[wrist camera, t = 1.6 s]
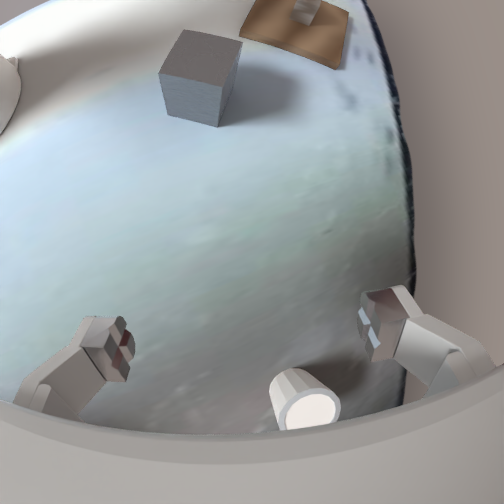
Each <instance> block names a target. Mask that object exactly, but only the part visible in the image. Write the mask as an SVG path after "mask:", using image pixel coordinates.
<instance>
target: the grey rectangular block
mask: <svg viewBox="0 0 504 504" xmlns="http://www.w3.org/2000/svg"><path fill="white" fill-rule="evenodd" d="M242 44H243V42H240V41H236V40H233V39H228V38H224V37H220V36H216V35H211V34H206V33H201V32H196V31H190V30H183V32H182V33H181V35H180V36H179V38H178V40H177V41H176V43H175V45H174V46H173V48H172V50H171V51H170V53H169V55H168V57H167V58H166V60H165V62H164V64H163V65H162V67H161V69H160V71H159V73H158V74H159V78H160V83H161V87H162V92H163V96H164V100H165V105H166V109H167V113H168V115H170V116H175V117H179V118H183V119H187V120H191V121H195V122H199V123H202V124H206V125H210V126H214V127H217V126H218V124H219V121H220V118H221V116H222V113H223V111H224V108H225V105H226V103H227V100H228V98H229V95H230V93H231V90H232V88H233V84H234V79H235V75H236V70H237V66H238V61H239V57H240V52H241V48H242Z"/></svg>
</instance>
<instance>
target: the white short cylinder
mask: <svg viewBox="0 0 504 504" xmlns="http://www.w3.org/2000/svg"><path fill="white" fill-rule="evenodd" d="M269 394H270V397H271V401H272V404H273V408H274V412H275V415H276V419H277V422H278V425H279V428H280V431H282V430H290V429H298V428H305V427H311V426H318V425H323V424H329V423H334V422H336V421H337V419H338V417H339V413H340V410H341V406H340V401H339V398H338V397H337V396H336V395H335V393H334V392H333V391H331V390H330V389H329V388H327V387H326V386H325V385H324V384H322V383H321V382H320V381H318V380H317V379H316V378H315V377H313V376H312V375H311V374H309V373H308V372H307V371H305V370H302V369H300V368H291V369H288V370H285V371H282V372H281V373H280V374H278V375H277V376H276V377H275V378H274V379H273V381H272V383H271V384H270V390H269Z"/></svg>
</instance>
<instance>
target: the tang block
mask: <svg viewBox="0 0 504 504" xmlns="http://www.w3.org/2000/svg"><path fill="white" fill-rule="evenodd" d="M348 14H349V12H348V11H345V10H343V9H341V8H339V7H336V6H334V5H332V4H329V3H327V2H324V1H322V0H256V2H255V3H254V5H253V7H252V9H251V11H250V12H249V14H248V16H247V18H246V20H245V22H244V24H243V26H242V27H241V29H240V34H239V36H240V37H244V38H248V39H251V40H255V41H258V42H262V43H265V44H268V45H271V46H275V47H278V48H281V49H284V50H286V51H289V52H292V53H295V54H298V55H300V56H303V57H306V58H308V59H311V60H313V61H316V62H318V63H320V64H323V65H325V66H328V67H330V68H332V69H334V70H336V69H337V67H338V66H339V65H340V60H341V55H342V49H343V44H344V38H345V32H346V26H347V20H348Z"/></svg>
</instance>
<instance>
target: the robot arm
mask: <svg viewBox="0 0 504 504" xmlns="http://www.w3.org/2000/svg"><path fill="white" fill-rule="evenodd" d="M17 69H18V59H16V58H15V57H12V58H9V59H5V58H4V57H3V56H2V55H1V54H0V134H1V132H2V131H3V129H4V128H5V126H6V125H7V123H8V122H9V120H10V118H11V116H12V114H13V112H14V110H15V108H16V105H17V103H18V100H19V96H20V92H21V79H20V76H19V74H18V72H17ZM360 304H361V306H362V308H361V309H360V310H359V311H358V316H357V326H358V331H359V334H360V337H361V338H362V339H363V340H365V341H366V346H365V349H366V351H367V354H368V356H369V359H370V361H371V362H375V361H380V360H384V359H389V358H393V359H394V360H396V361H397V362H398V363H399V364H401V365H402V366H403V367H404V368H406V369H407V370H408V371H409V372H411V373H412V374H413V375H414V376H416V377H417V378H418V379H419V380H421V381H422V382H423V383H425V384H426V385H427V386H428V387H429V389H428V390H427V392H426V394H425V395H424V397H423V399H421V400H418V401H415V402H412V403H409V404H406V405H402V406H399V407H396V408H392V409H389V410H385V411H382V412H378V413H374V414H370V415H366V416H362V417H358V418H353V419H349V420H344V421H339V422H334V423H329V424H323V425H318V426H311V427H305V428H298V429H290V430H282V431H272V432H261V433H247V434H223V435H189V434H166V433H153V432H142V431H133V430H124V429H117V428H110V427H104V426H98V425H93V424H87V423H85V422H84V421H83V420H82V419H81V418H80V417H79V416H78V414H79V413H80V412H81V410H82V409H83V408H84V407H85V406H86V405H87V404H88V402H89V401H90V400H91V399H92V398H93V397H94V396H95V395H96V393H97V392H98V391H99V390H100V389H101V388H102V387H103V386H104V385H105V383H106V381H111V382H126V380H127V377H128V373H129V370H130V366H129V364H128V362H130V361H131V360H132V359H133V357H134V354H135V342H134V338H133V336H132V334H131V333H130V332H129V331H128V330H126V329H125V328H126V325H127V324H126V322H125V320H124V318H123V317H121V316H86V317H85V318H83V320H82V322H81V324H80V325H79V327H78V329H77V331H76V333H75V335H74V337H73V338H72V340H71V342H70V344H69V346H68V347H64V348H63V349H61V350H60V351H59V352H57V353H56V354H55V355H54V356H52V357H51V358H50V359H48V360H47V361H46V362H45V363H43V364H42V365H41V366H39V367H38V368H37V369H36V370H34V371H33V372H32V373H31V374H29V375H28V376H27V377H26V378H24V380H23V382H22V384H21V386H20V388H19V390H18V392H17V394H16V396H15V399H14V401H13V403H10V402H7V401H4V400H2V399H0V504H504V364H502V365H500V366H498V367H496V365H495V364H494V362H493V361H492V359H491V358H490V356H489V354H488V353H487V351H486V350H485V348H484V347H483V346H482V344H481V342H480V341H478V340H476V339H474V338H473V337H470V336H469V335H467V334H465V333H463V332H461V331H459V330H458V329H455V328H454V327H452V326H450V325H448V324H446V323H444V322H442V321H440V320H439V319H437V318H435V317H433V316H430V315H429V314H423V313H422V311H421V309H420V308H419V307H418V305H417V304H416V302H415V301H414V299H413V298H412V296H411V295H410V293H409V292H408V291H407V289H406V288H405V287H404V286H403V285H398V286H393V287H389V288H384V289H379V290H373V291H367V292H362V294H361V296H360Z"/></svg>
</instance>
